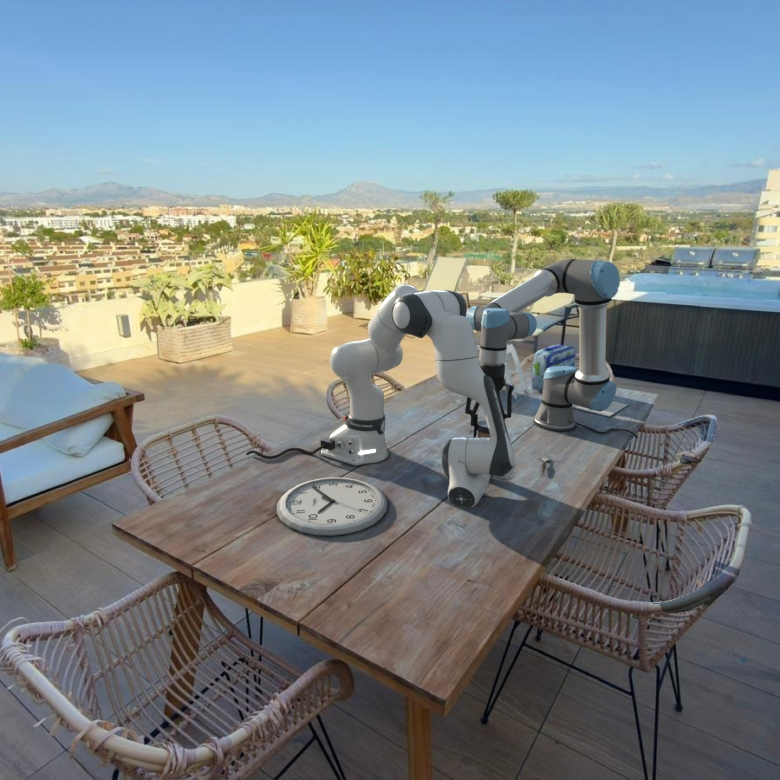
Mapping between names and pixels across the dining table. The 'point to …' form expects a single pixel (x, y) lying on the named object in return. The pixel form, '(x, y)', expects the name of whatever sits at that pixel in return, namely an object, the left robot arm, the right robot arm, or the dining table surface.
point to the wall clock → (331, 506)
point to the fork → (545, 460)
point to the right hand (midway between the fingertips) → (486, 437)
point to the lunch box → (550, 362)
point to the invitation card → (609, 411)
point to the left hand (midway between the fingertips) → (485, 454)
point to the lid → (482, 427)
